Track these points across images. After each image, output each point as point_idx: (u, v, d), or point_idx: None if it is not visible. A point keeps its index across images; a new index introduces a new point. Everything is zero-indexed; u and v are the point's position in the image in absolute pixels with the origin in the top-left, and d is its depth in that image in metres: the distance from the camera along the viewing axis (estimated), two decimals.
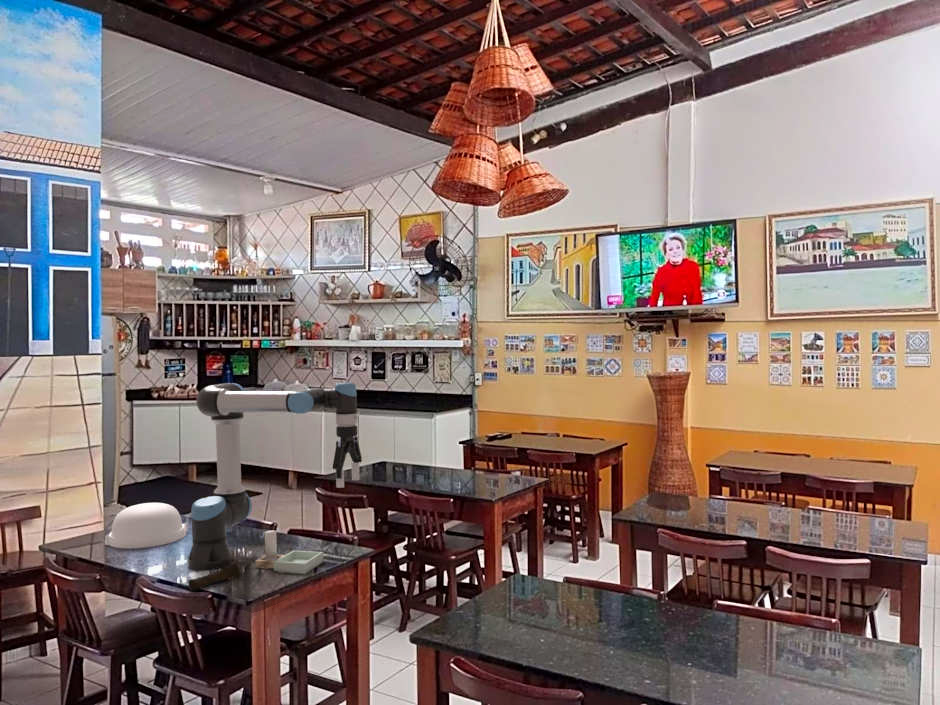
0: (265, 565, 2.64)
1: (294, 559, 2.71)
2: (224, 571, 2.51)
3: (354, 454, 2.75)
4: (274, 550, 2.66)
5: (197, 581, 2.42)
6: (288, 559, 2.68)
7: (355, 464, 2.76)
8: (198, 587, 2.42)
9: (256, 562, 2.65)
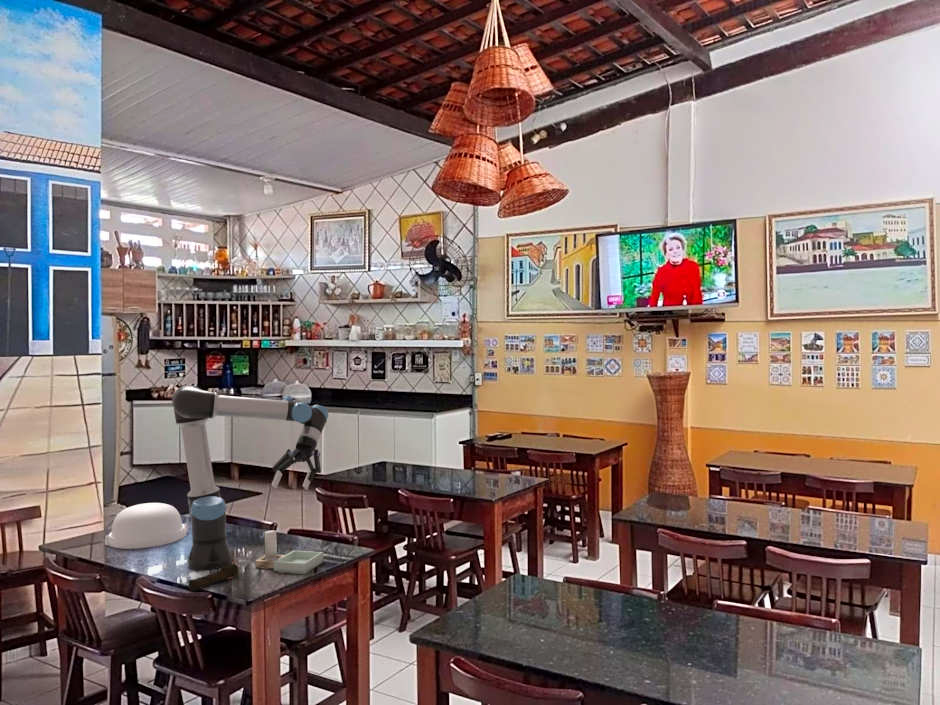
0: (265, 565, 2.64)
1: (294, 559, 2.71)
2: (223, 571, 2.51)
3: (288, 465, 2.87)
4: (274, 550, 2.66)
5: (197, 581, 2.42)
6: (288, 559, 2.68)
7: (280, 474, 2.85)
8: (198, 587, 2.42)
9: (256, 562, 2.65)
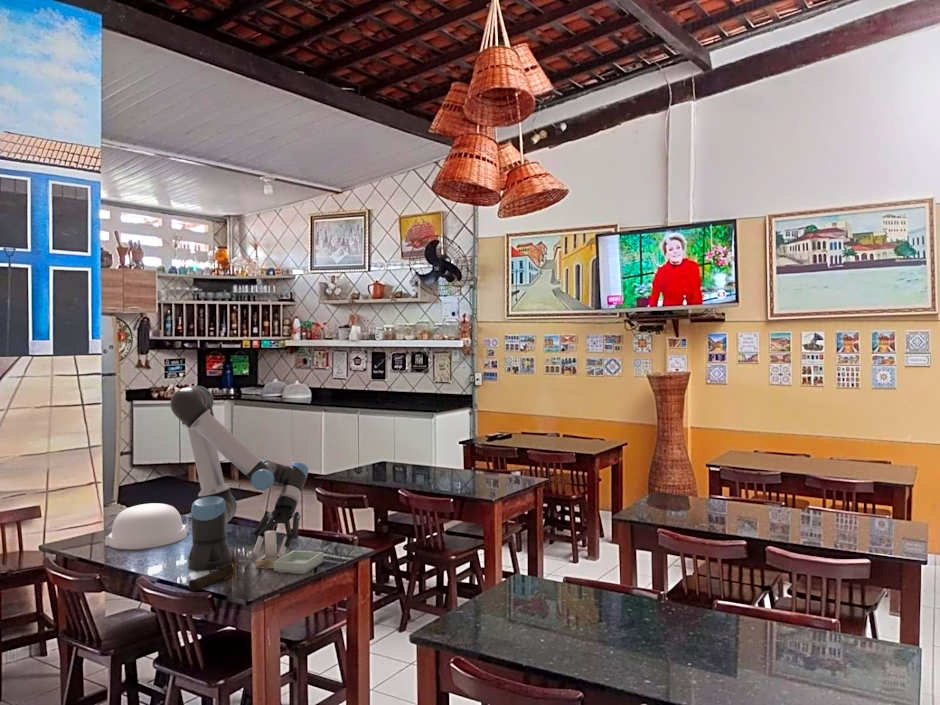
0: (265, 565, 2.64)
1: (294, 559, 2.71)
2: (221, 570, 2.52)
3: (269, 529, 2.73)
4: (274, 550, 2.66)
5: (198, 581, 2.42)
6: (288, 559, 2.68)
7: (261, 539, 2.70)
8: (199, 587, 2.42)
9: (256, 562, 2.65)
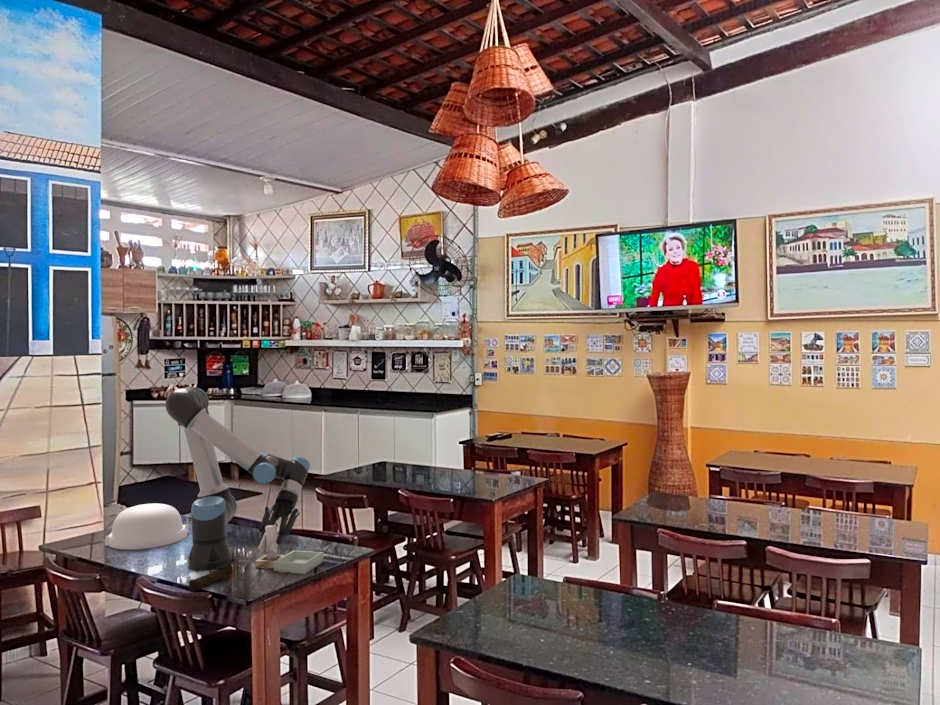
0: (265, 565, 2.64)
1: (294, 559, 2.71)
2: (221, 570, 2.52)
3: (273, 524, 2.72)
4: None
5: (198, 581, 2.42)
6: (288, 559, 2.68)
7: None
8: (199, 587, 2.42)
9: (256, 562, 2.65)
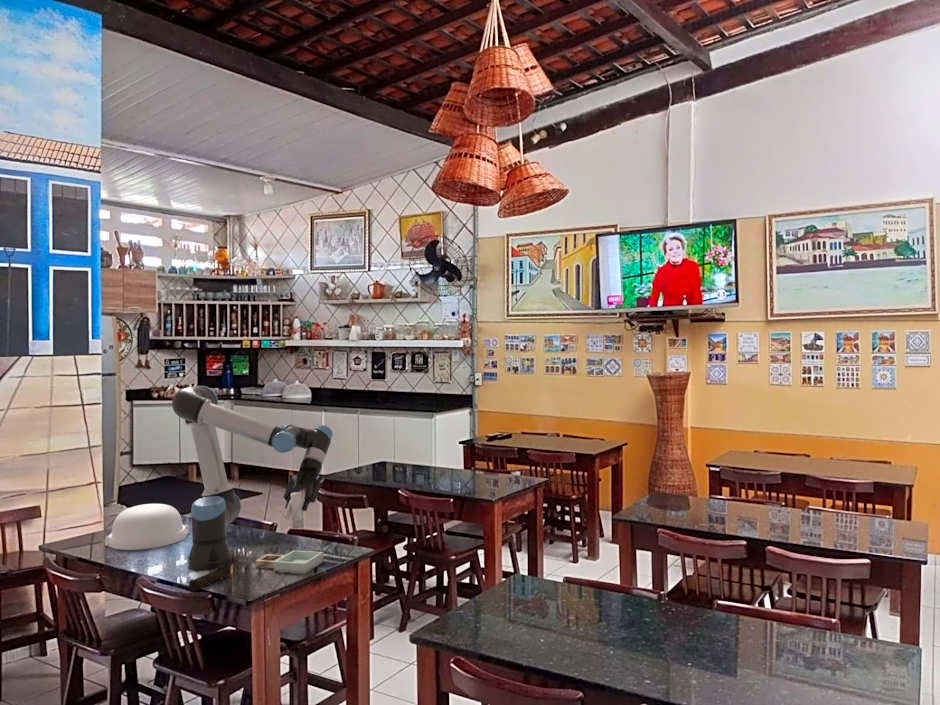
0: (265, 565, 2.64)
1: (294, 559, 2.71)
2: (220, 570, 2.52)
3: None
4: None
5: (199, 581, 2.42)
6: (288, 559, 2.68)
7: None
8: (200, 587, 2.42)
9: (256, 562, 2.65)
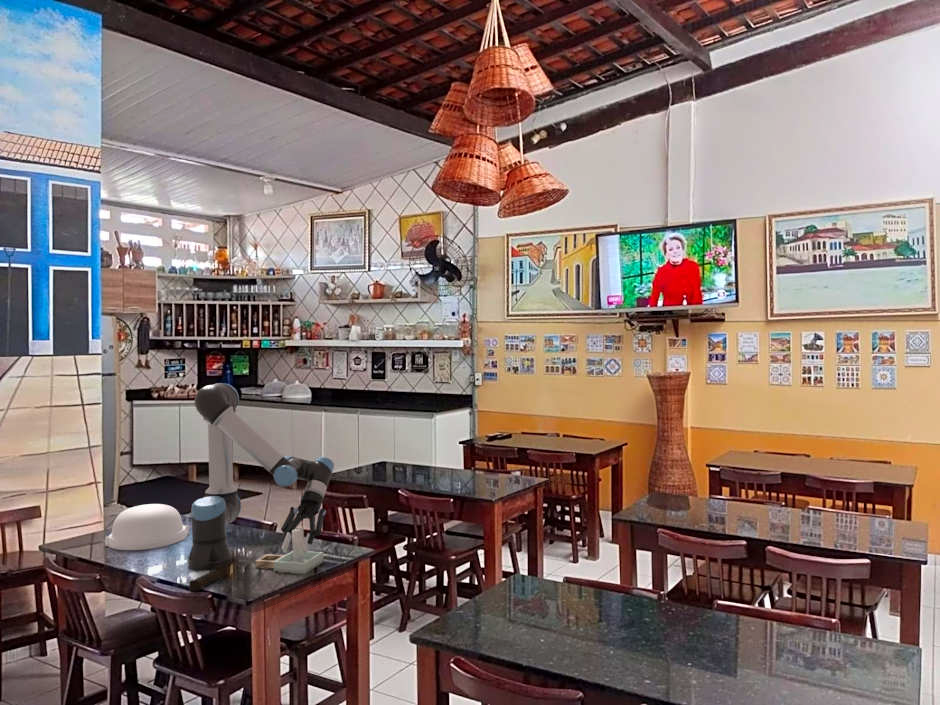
0: (265, 565, 2.64)
1: None
2: (218, 570, 2.53)
3: (296, 524, 2.70)
4: None
5: (200, 581, 2.42)
6: (288, 559, 2.68)
7: (290, 536, 2.66)
8: (200, 587, 2.42)
9: (256, 562, 2.65)
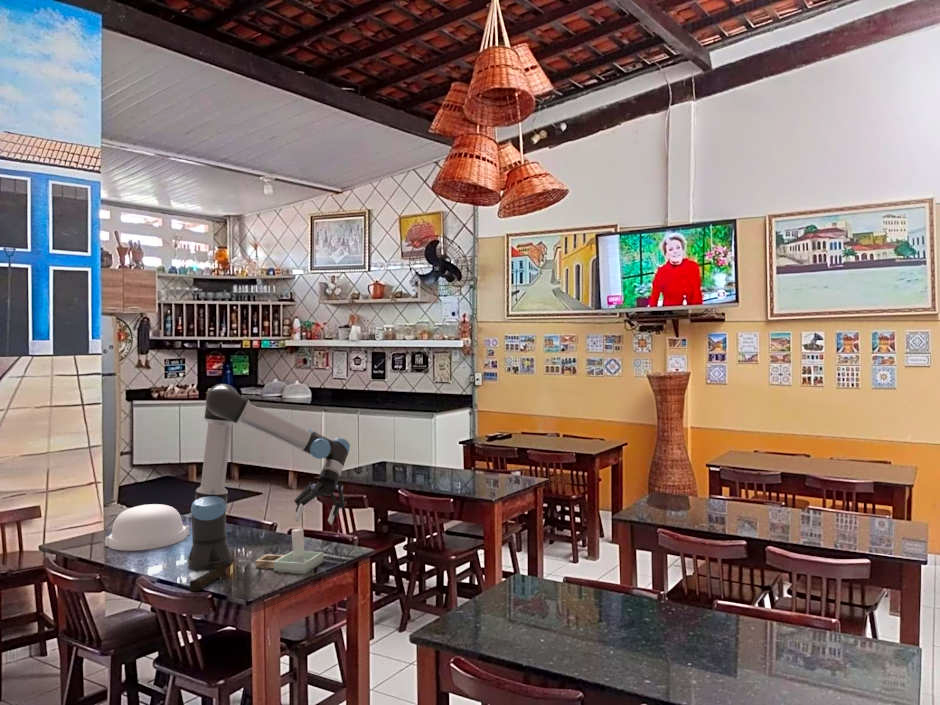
0: (265, 565, 2.64)
1: None
2: (217, 570, 2.53)
3: (310, 499, 2.85)
4: (302, 548, 2.64)
5: (200, 581, 2.42)
6: (288, 559, 2.68)
7: (302, 507, 2.83)
8: (201, 587, 2.42)
9: (256, 562, 2.65)
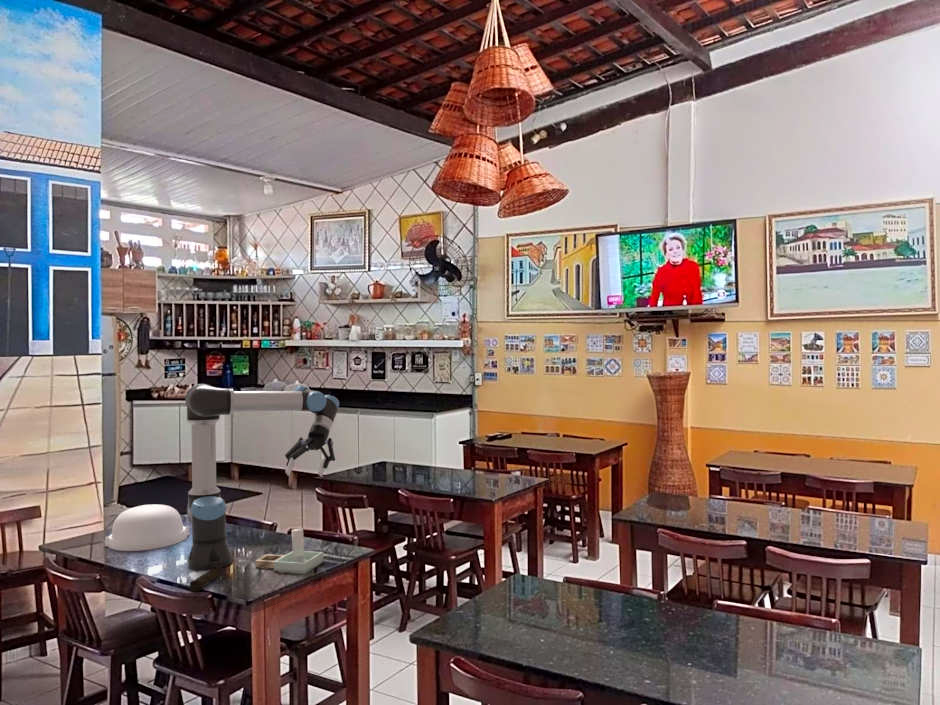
0: (265, 565, 2.64)
1: None
2: (214, 570, 2.53)
3: (301, 453, 2.90)
4: (301, 548, 2.64)
5: (201, 581, 2.42)
6: (288, 559, 2.68)
7: (293, 461, 2.88)
8: (201, 587, 2.42)
9: (256, 562, 2.65)
